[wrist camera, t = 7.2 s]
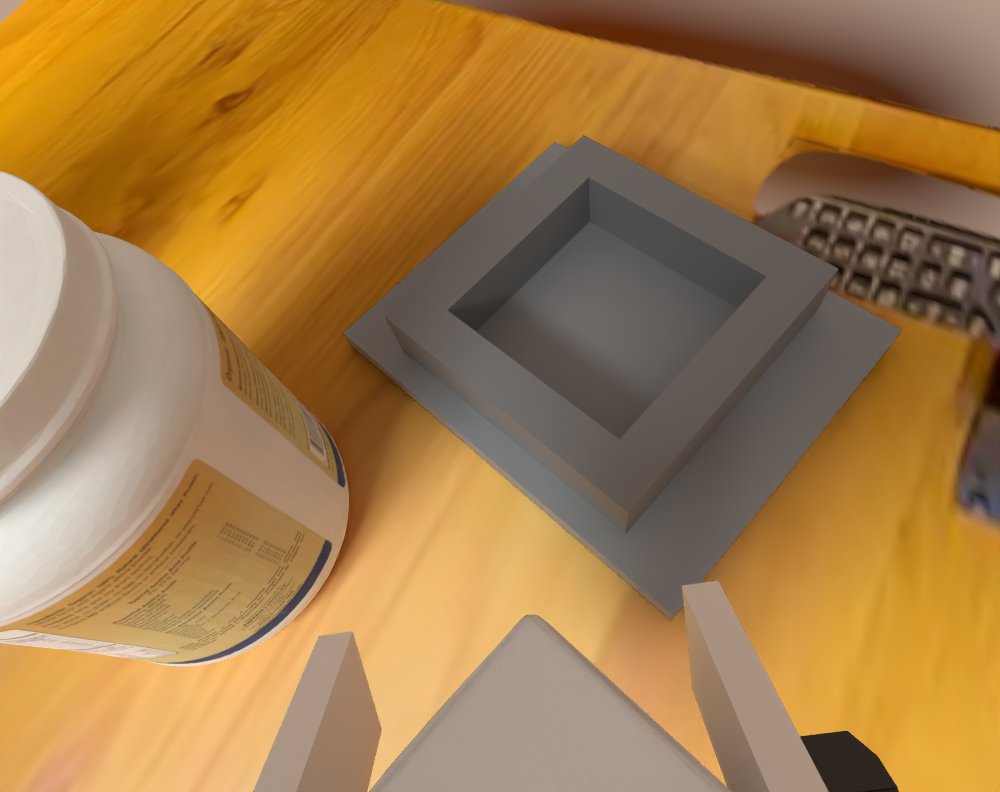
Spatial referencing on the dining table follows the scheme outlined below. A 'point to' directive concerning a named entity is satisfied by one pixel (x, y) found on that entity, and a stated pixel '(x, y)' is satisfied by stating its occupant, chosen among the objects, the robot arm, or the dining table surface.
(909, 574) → the dining table surface
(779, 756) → the robot arm
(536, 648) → the skincare box
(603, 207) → the slate stand
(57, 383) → the supplement tub
